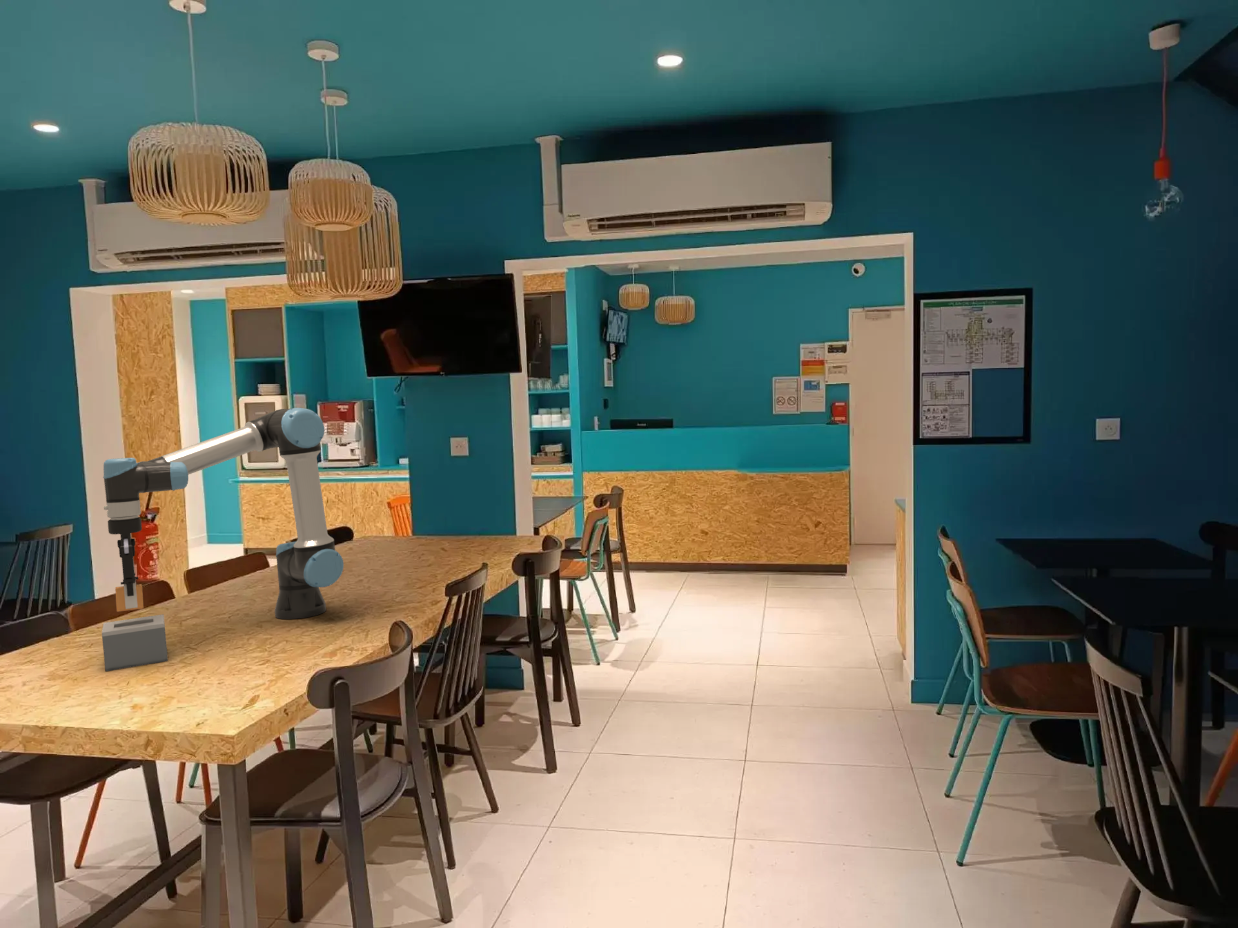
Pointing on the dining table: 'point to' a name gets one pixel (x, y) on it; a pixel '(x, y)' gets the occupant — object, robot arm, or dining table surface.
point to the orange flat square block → (121, 598)
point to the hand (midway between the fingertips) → (131, 606)
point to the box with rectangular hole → (134, 642)
